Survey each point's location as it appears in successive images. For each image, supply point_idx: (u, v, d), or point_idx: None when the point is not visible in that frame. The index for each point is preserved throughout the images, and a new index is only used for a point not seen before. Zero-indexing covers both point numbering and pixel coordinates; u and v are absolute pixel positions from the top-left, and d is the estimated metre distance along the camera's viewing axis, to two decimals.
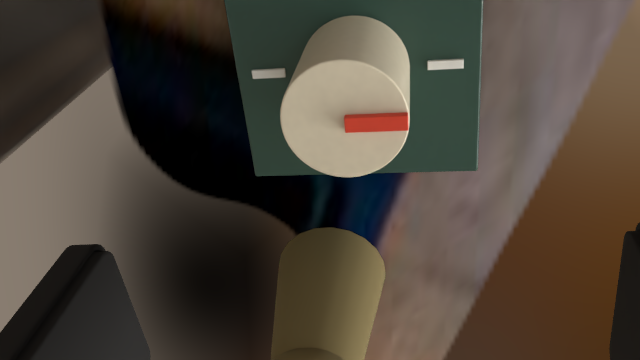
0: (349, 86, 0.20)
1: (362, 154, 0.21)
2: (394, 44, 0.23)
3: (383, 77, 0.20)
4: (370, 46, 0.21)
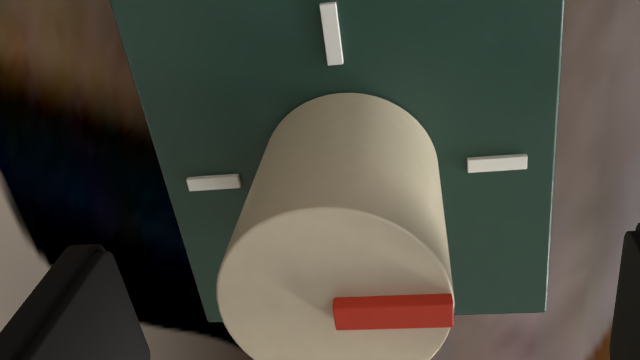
0: (340, 252, 0.11)
1: (369, 357, 0.12)
2: (415, 145, 0.13)
3: (404, 237, 0.10)
4: (374, 164, 0.12)
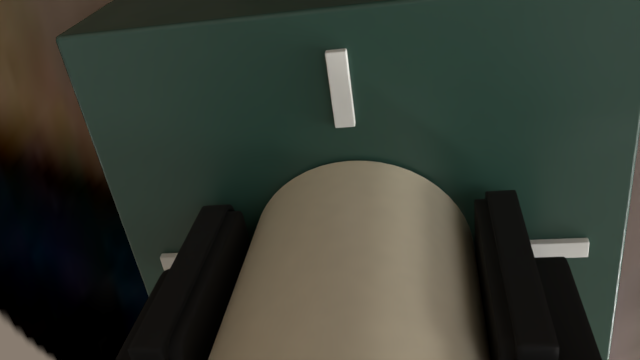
0: None
1: None
2: (448, 237, 0.10)
3: None
4: (398, 281, 0.09)
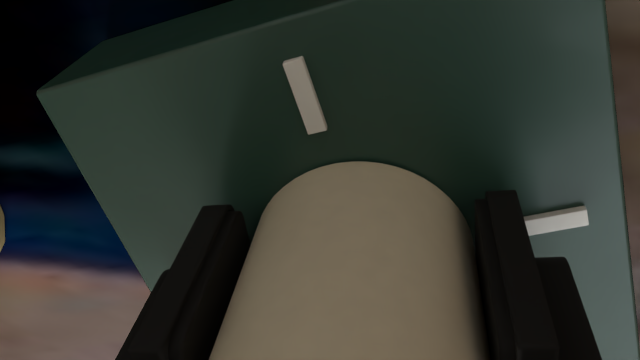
0: None
1: None
2: (449, 238, 0.10)
3: None
4: (398, 282, 0.09)
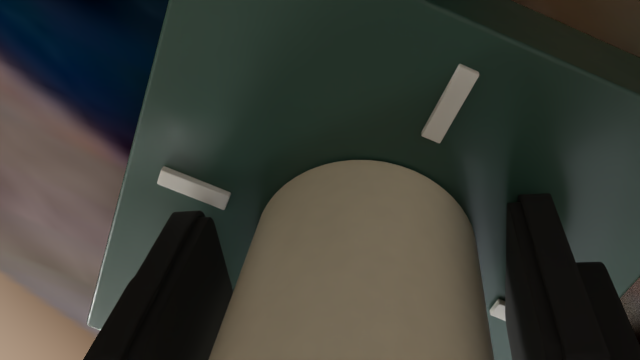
0: None
1: None
2: (452, 239, 0.10)
3: None
4: (401, 283, 0.08)
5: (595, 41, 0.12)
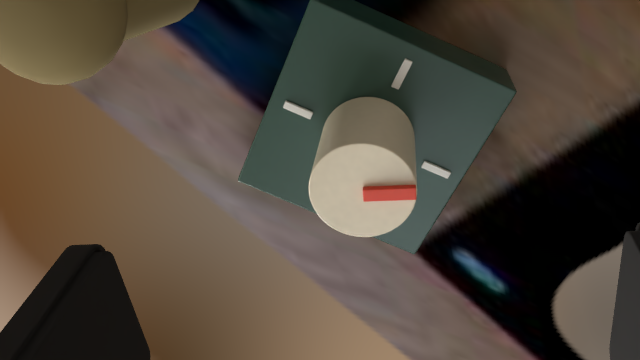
0: (367, 164, 0.24)
1: (377, 218, 0.25)
2: (402, 123, 0.27)
3: (395, 157, 0.24)
4: (382, 128, 0.25)
5: (464, 52, 0.29)
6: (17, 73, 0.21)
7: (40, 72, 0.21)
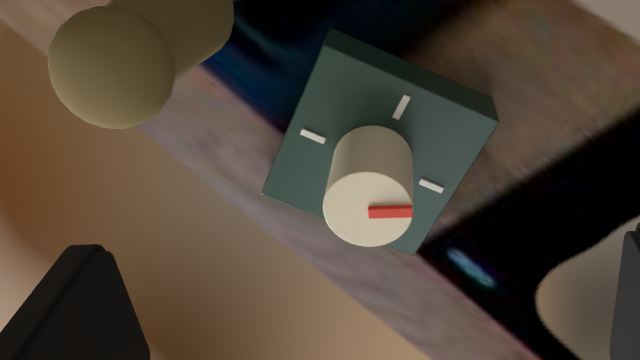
0: (371, 188, 0.29)
1: (380, 231, 0.30)
2: (401, 149, 0.32)
3: (394, 183, 0.29)
4: (384, 156, 0.30)
5: (456, 84, 0.34)
6: (88, 121, 0.26)
7: (107, 121, 0.26)
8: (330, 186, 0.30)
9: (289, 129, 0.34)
